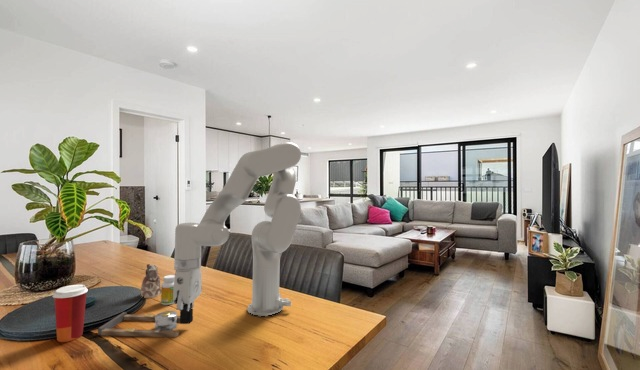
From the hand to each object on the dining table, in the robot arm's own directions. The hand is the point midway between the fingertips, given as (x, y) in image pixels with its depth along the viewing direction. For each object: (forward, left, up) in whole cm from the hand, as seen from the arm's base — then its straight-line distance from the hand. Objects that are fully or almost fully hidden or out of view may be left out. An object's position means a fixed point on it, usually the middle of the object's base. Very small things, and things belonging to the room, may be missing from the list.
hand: (186, 322), depth 91 cm
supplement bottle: (+15, -19, -2) cm, 25 cm away
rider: (+6, 0, -2) cm, 7 cm away
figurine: (+26, -26, -2) cm, 37 cm away
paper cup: (+30, +7, -2) cm, 31 cm away
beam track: (+11, 0, -2) cm, 11 cm away
